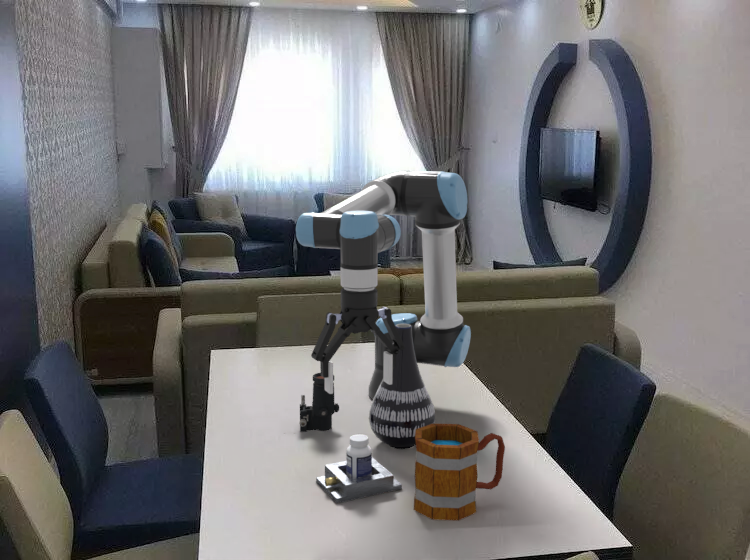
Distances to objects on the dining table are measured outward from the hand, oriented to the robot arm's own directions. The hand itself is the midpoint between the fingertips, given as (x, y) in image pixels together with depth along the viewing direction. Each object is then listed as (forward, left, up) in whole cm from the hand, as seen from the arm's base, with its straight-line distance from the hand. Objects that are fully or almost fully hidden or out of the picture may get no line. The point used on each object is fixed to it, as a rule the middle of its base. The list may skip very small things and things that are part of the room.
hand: (358, 387), depth 166 cm
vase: (-19, -16, -22) cm, 33 cm away
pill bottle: (0, 0, -21) cm, 21 cm away
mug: (-15, +16, -22) cm, 31 cm away
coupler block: (0, 0, -22) cm, 22 cm away
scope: (-5, -34, -22) cm, 40 cm away
